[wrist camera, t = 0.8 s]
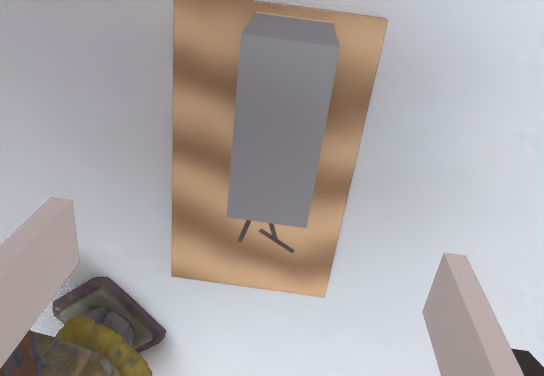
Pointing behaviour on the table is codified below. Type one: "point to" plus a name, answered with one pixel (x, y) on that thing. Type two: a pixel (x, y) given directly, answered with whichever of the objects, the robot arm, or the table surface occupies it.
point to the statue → (89, 336)
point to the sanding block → (280, 116)
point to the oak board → (218, 147)
